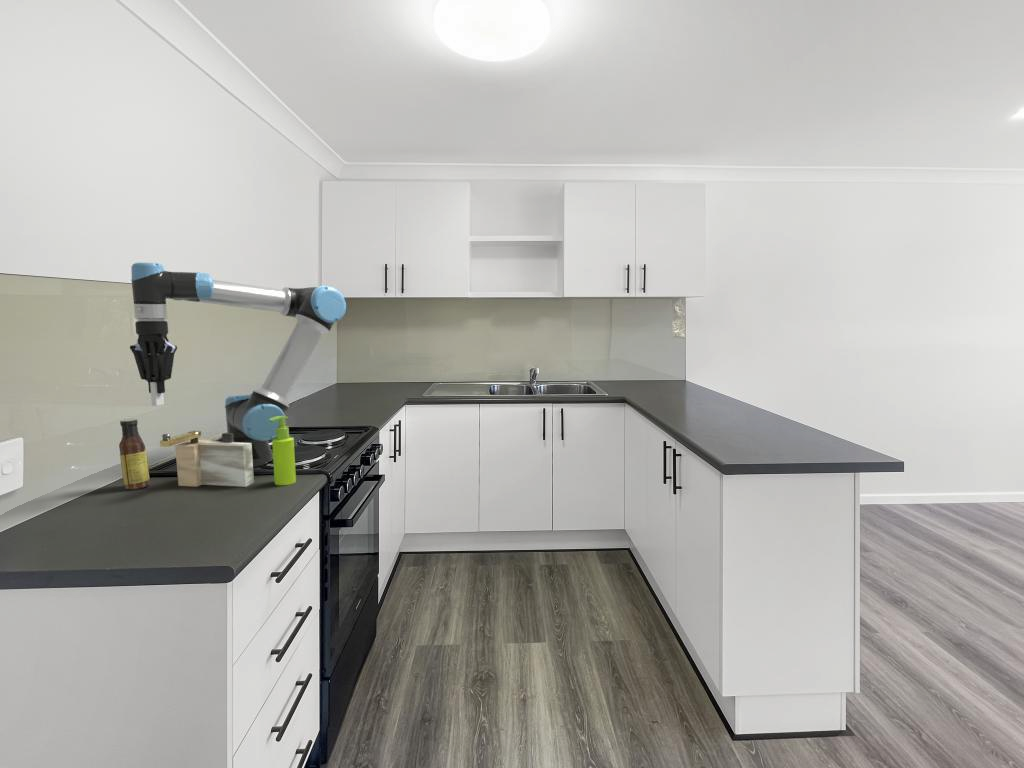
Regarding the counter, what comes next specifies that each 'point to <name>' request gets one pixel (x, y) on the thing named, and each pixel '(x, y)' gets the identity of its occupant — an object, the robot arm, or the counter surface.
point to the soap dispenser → (283, 454)
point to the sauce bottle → (133, 456)
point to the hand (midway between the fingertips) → (158, 404)
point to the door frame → (214, 462)
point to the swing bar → (178, 438)
